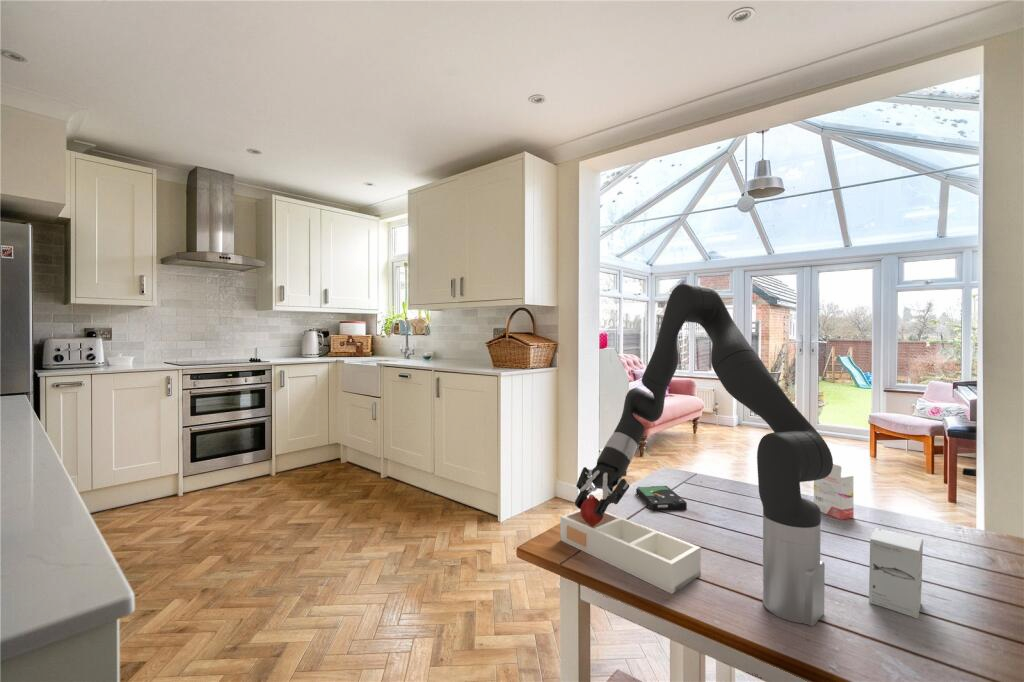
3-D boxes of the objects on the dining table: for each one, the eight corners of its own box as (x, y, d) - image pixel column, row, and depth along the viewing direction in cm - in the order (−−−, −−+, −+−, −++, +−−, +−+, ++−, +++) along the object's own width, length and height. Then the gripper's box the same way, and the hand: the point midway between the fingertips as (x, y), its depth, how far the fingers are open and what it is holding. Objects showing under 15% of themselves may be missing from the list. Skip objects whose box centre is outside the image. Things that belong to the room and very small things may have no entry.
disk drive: (687, 511, 135) (666, 493, 150) (687, 502, 135) (666, 484, 150) (653, 513, 134) (635, 494, 149) (653, 503, 134) (635, 485, 149)
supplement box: (867, 603, 89) (868, 537, 88) (874, 588, 94) (874, 526, 93) (919, 620, 83) (919, 550, 83) (922, 603, 88) (923, 537, 88)
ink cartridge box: (854, 518, 128) (855, 465, 128) (841, 520, 127) (841, 466, 126) (825, 506, 136) (825, 457, 136) (812, 509, 135) (812, 458, 134)
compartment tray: (700, 575, 99) (700, 547, 99) (670, 594, 92) (670, 564, 92) (590, 528, 123) (589, 505, 123) (559, 540, 116) (559, 516, 116)
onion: (585, 519, 120) (585, 488, 119) (607, 523, 117) (607, 492, 116) (576, 527, 115) (576, 495, 114) (599, 532, 112) (598, 500, 111)
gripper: (589, 440, 125) (558, 495, 118) (634, 451, 114) (603, 512, 107) (602, 456, 129) (573, 510, 122) (647, 468, 118) (617, 528, 111)
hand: (587, 510), depth 114 cm, fingers closed on onion, 5 cm apart
